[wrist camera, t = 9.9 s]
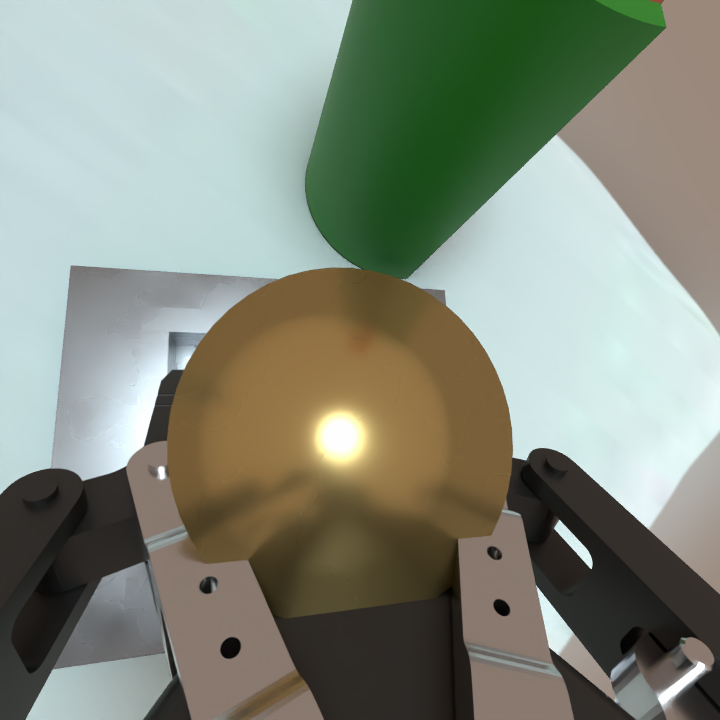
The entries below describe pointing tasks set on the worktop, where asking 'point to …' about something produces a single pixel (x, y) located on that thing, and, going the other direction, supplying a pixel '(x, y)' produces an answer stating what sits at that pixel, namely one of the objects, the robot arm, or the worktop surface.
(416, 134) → the motor
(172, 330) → the coupling base
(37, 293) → the worktop surface
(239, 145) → the worktop surface
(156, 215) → the worktop surface
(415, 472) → the gold tall waisted piece
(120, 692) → the worktop surface
